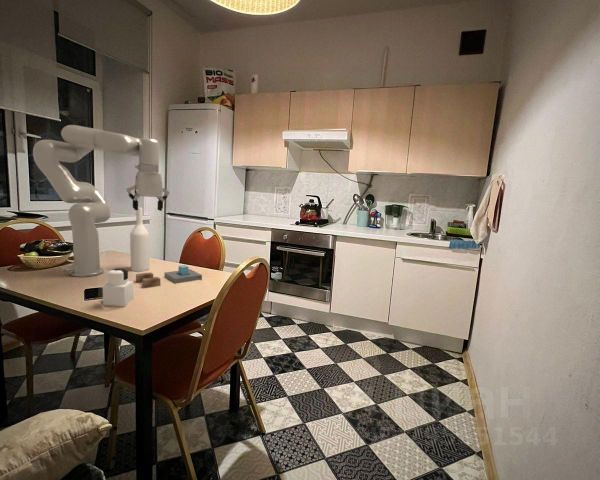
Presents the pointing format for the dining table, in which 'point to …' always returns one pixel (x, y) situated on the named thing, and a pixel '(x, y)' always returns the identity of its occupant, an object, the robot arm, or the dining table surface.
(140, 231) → the bottle
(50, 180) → the robot arm
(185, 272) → the plug
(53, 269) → the dining table surface
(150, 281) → the brown notched block
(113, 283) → the medicine bottle
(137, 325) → the dining table surface
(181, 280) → the port block
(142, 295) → the dining table surface
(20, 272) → the dining table surface
